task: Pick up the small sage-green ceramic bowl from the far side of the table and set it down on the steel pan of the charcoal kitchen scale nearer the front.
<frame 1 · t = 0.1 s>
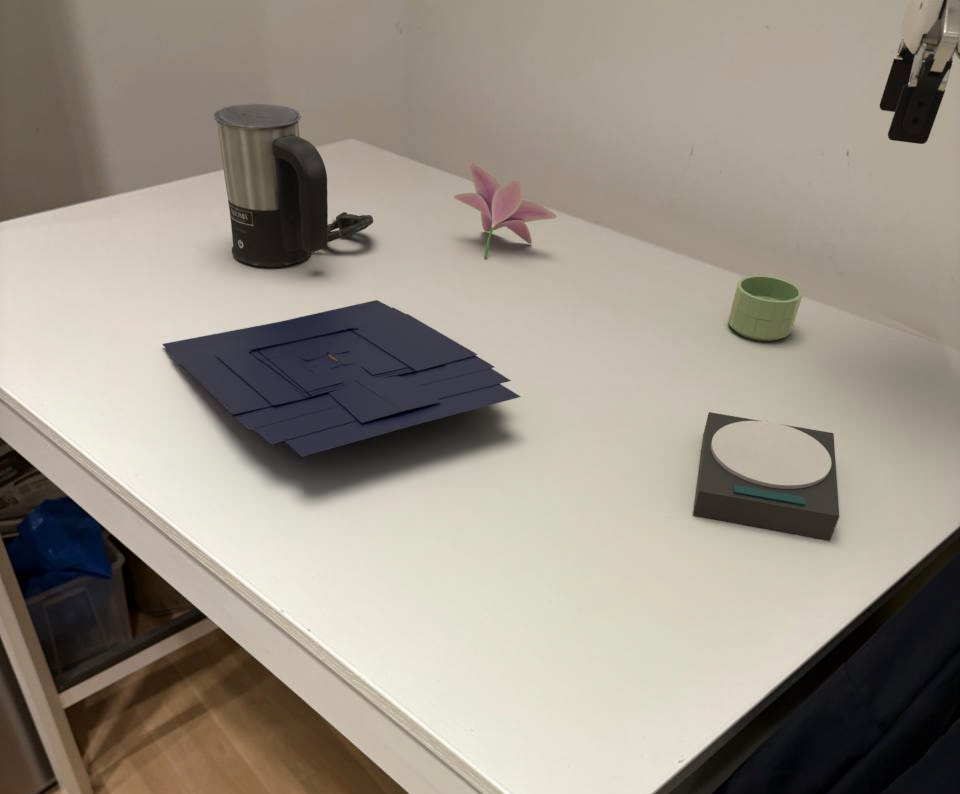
hand: (901, 125, 82), 22 cm above the table, tool pointing down, fingers open, 9 cm apart
papers: (339, 391, 88), on the table
scale: (762, 484, 80), on the table
lily: (498, 249, 115), on the table
bowl: (758, 329, 102), on the table
milk frother: (303, 249, 111), on the table
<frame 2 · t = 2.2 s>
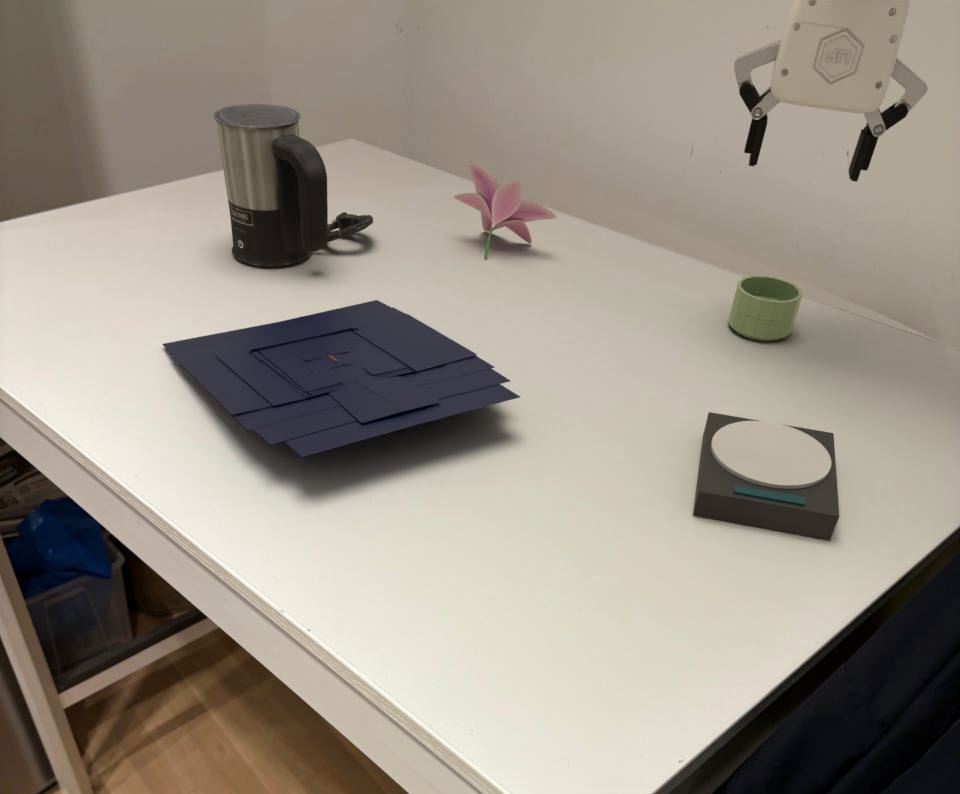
hand: (802, 169, 91), 16 cm above the table, tool pointing down, fingers open, 9 cm apart
nothing on the table moved.
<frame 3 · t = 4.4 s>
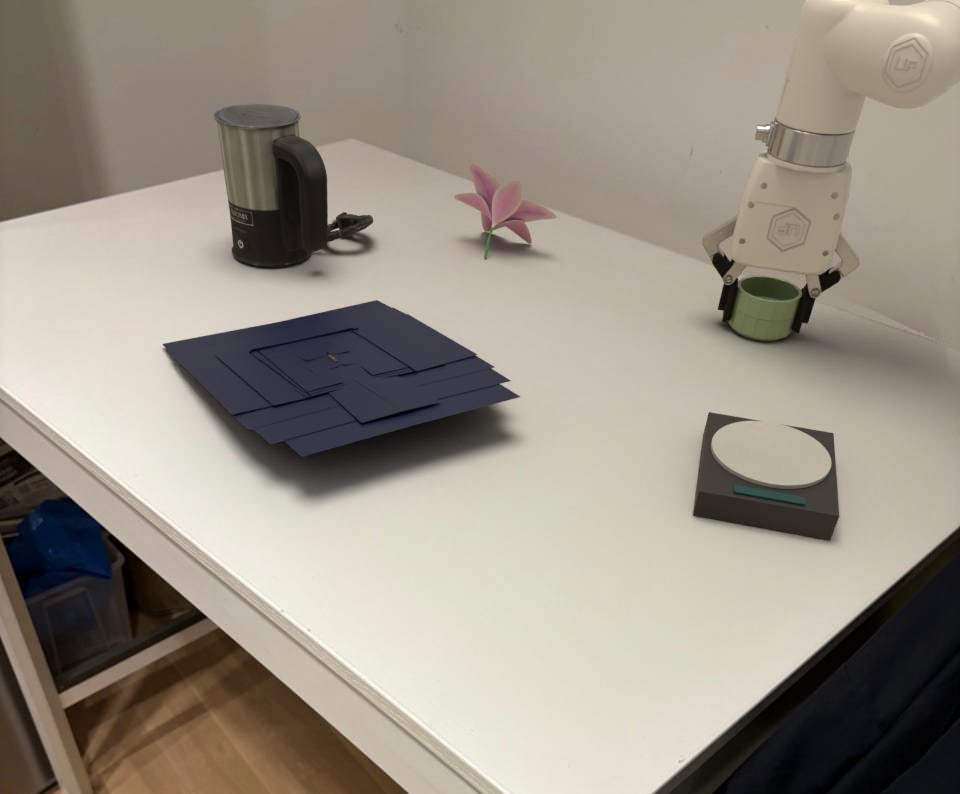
hand: (760, 321, 101), 1 cm above the table, tool pointing down, fingers closed on bowl, 6 cm apart
bowl: (758, 329, 102), on the table, touching gripper
everything else where it was.
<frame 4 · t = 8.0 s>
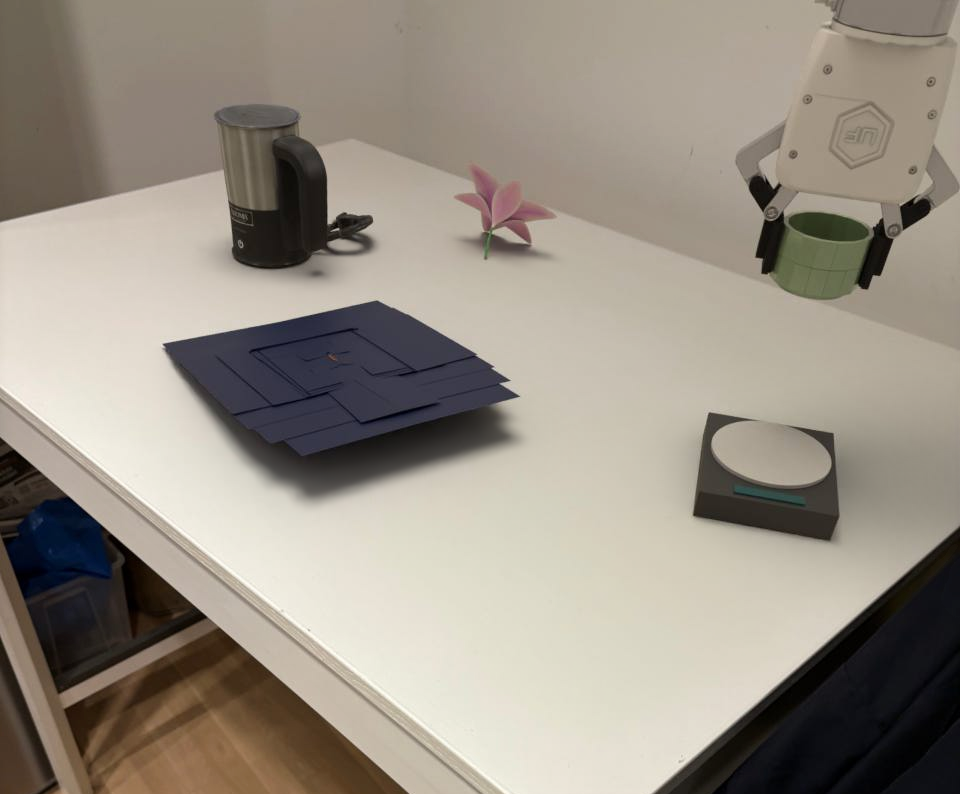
hand: (814, 273, 74), 16 cm above the table, tool pointing down, fingers closed on bowl, 6 cm apart
bowl: (810, 285, 74), point 15 cm above the table, touching gripper
everything else where it was.
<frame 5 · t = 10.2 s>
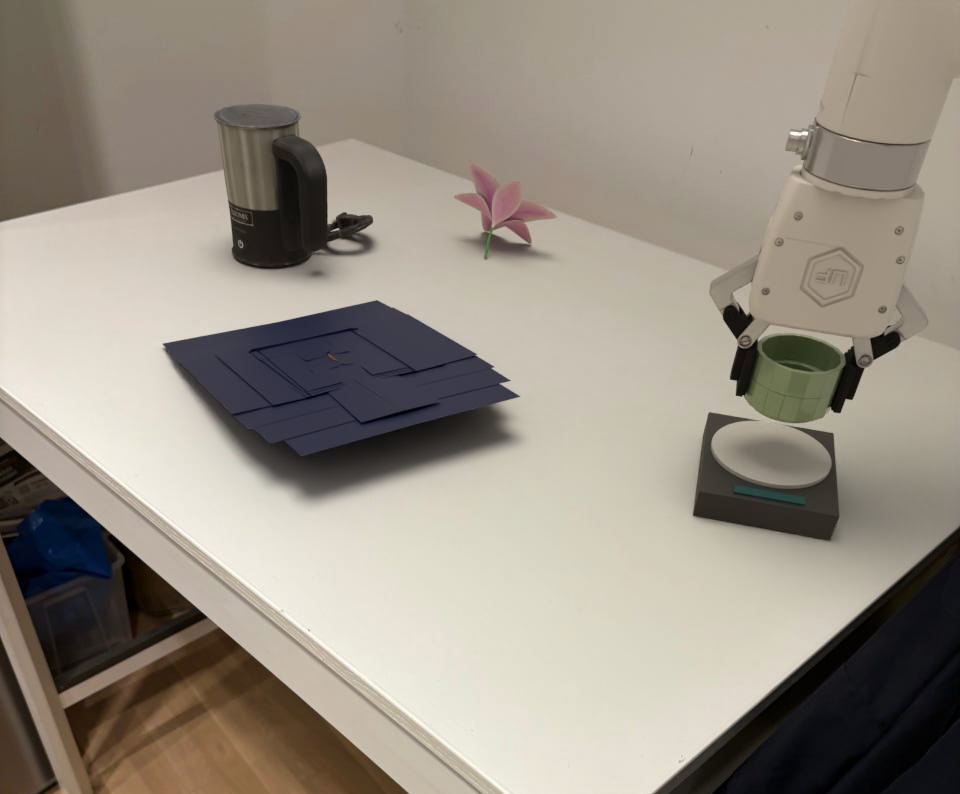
hand: (787, 395, 75), 8 cm above the table, tool pointing down, fingers closed on bowl, 6 cm apart
bowl: (784, 405, 75), point 7 cm above the table, touching gripper
everything else where it was.
when the fingers open (4 cm above the table, at t = 11.8 s): bowl stays where it is, resting on scale.
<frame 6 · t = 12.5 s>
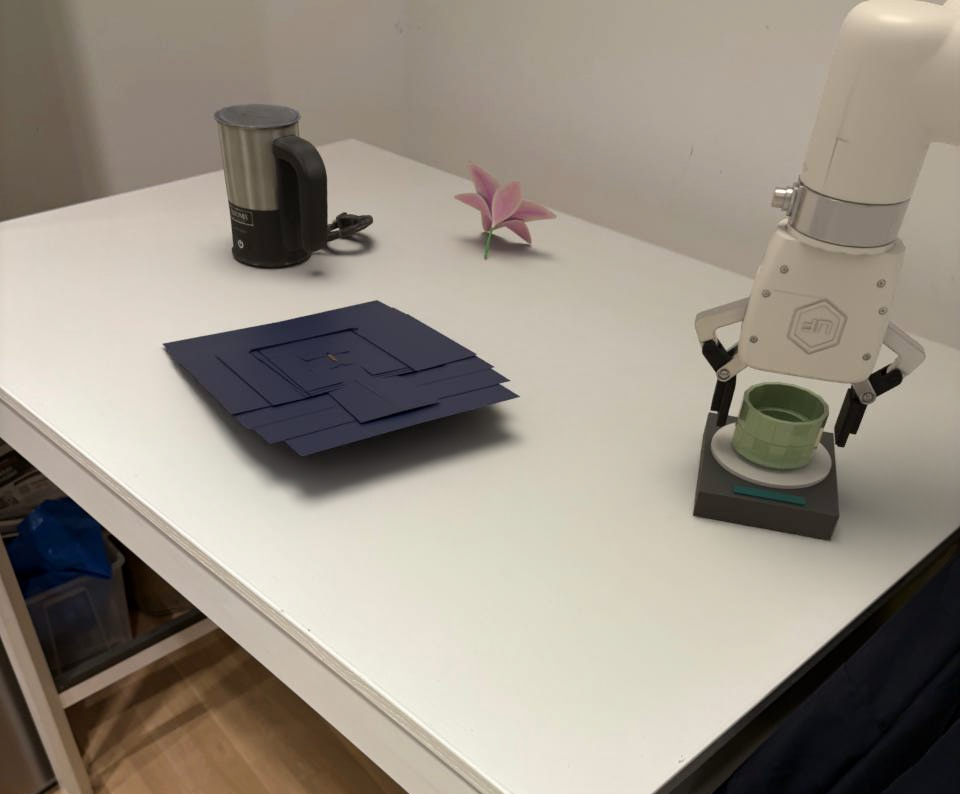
hand: (779, 428, 77), 5 cm above the table, tool pointing down, fingers open, 9 cm apart
bowl: (770, 451, 78), point 3 cm above the table, touching scale
everything else where it was.
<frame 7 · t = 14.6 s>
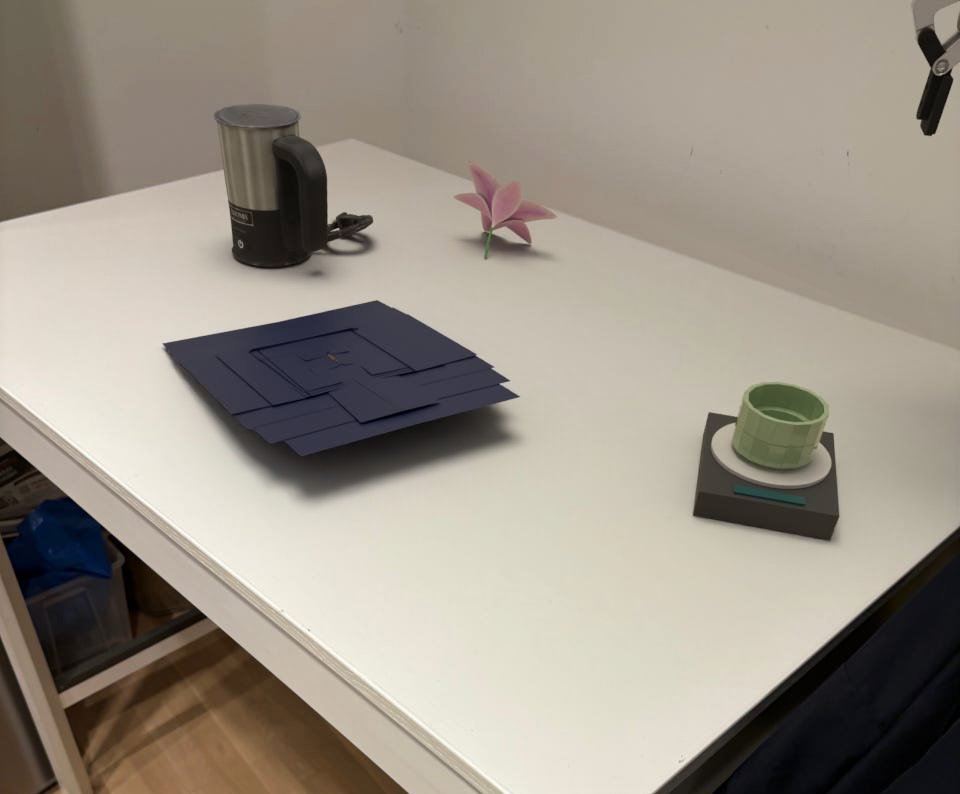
nothing on the table moved.
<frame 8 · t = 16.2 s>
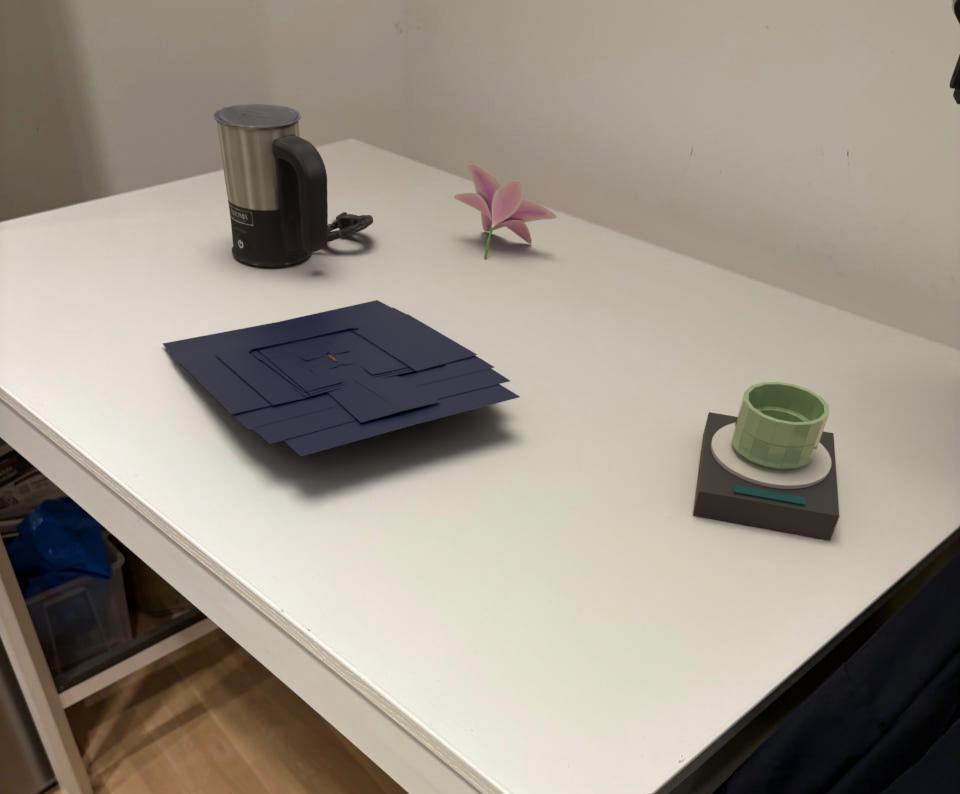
nothing on the table moved.
at the end: bowl 0.0 cm off-centre on the scale, point 2.8 cm above the scale's base; bowl tilted 0°; the gripper is holding nothing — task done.
